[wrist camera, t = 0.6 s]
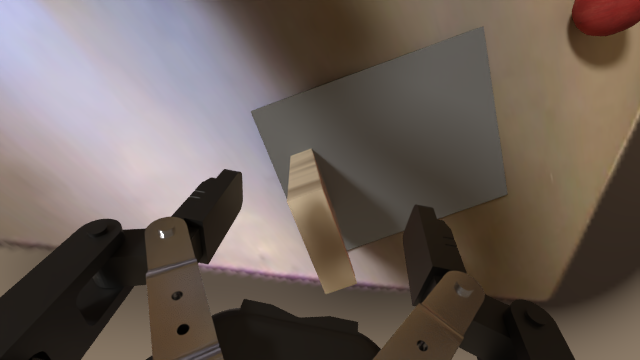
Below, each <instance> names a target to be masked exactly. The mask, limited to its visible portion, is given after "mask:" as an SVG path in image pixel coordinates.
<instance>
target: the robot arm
mask: <svg viewBox="0 0 640 360" xmlns="http://www.w3.org/2000/svg"><path fill="white" fill-rule="evenodd" d="M242 202H243V189H242V173H241V172H238V171H232V170H227V169H224V170H223V171H222V172H221V173H220V174H219V176H218V177H217V178H209V179H208V180H206V181H204V182H202V183H201V184H200V185H199V186H198V187H197V188H196V189H195V191H194V192H193V193H192V194H191V195H190V197H188V198H187V200H186V201H185V202H184V203H183V204H182V205H181V206H180V207H179V208H178V210H177V211H176V212H175V213H174V214H173V215H172V216H171V217H164V218H161V219H158V220H156V221H154V222H152V223H151V224H150V225H149V226H148V227H147V228H146V229H130V230H123V229H122V226H121V224H120V222H118V221H117V220H114V219H100V220H95V221H92V222H90V223H87V224H85V225H84V226H82V227H81V228H79V229H78V230H77V231H76V232H75V233H73V234H72V235H71V236H70V237H69V238H68V239H67V240H65V241H64V242H63V243H62V244H61V245H60V246H59V247H57V248H56V249H55V250H54V251H53V252H52V253H51V254H49V255H48V256H47V257H46V258H45V259H44V260H43V261H42V262H40V263H39V264H38V265H37V266H36V267H35V268H33V269H32V270H31V271H30V272H29V273H28V274H27V275H25V277H23V278H22V279H21V280H20V281H19V282H17V283H16V284H15V285H14V286H13V287H12V288H11V289H9V290H8V291H7V292H6V293H5V294H4V295H3V296H2V297H0V360H81V359H82V357H83V356H84V354H85V353H86V351H87V350H88V349H89V348H90V346H91V345H92V344H93V342H94V341H95V339H96V338H97V337H98V335H99V334H100V333H101V331H102V330H103V328H104V327H105V326H106V324H107V323H108V322H109V320H110V318H111V317H112V316H113V314H114V313H115V312H116V310H117V309H118V308H119V306H120V305H121V304H122V302H123V301H124V300H125V298H126V297H127V295H128V294H129V293H130V291H131V290H132V289H133V287H134V286H137V285H147V296H148V308H149V320H150V332H151V343H152V356H151V357H149V358H148V359H146V360H452V358H453V356H454V354H455V353H456V350H457V349H458V347H460V348H462V349H464V350H465V351H467V352H469V353H471V354H473V355H475V356H477V359H478V360H575V358H574V356H573V355H572V353H571V351H570V349H569V347H568V345H567V343H566V341H565V339H564V337H563V336H562V334H561V332H560V330H559V328H558V326H557V324H556V322H555V321H554V319H553V318H552V317H551V316H550V315H549V314H548V313H547V312H546V311H545V310H544V309H542V308H541V307H540V306H538V305H536V304H534V303H532V302H530V301H527V300H515V301H513V302H512V304H511V305H510V306H509V305H507V304H504V303H502V302H500V301H498V300H496V299H493V298H491V297H489V296H487V295H486V294H485V293H484V290H483V288H482V287H481V285H480V284H479V283H478V282H477V281H476V280H475V279H474V278H473V277H471V276H470V275H468V274H467V272H466V270H465V267H464V264H463V262H462V259H461V256H460V253H459V251H458V248H457V245H456V242H455V240H454V237H453V234H452V231H451V229H450V228H449V227H448V226H447V225H446V223H445V222H444V221H443V220H437V217H436V214H435V211H434V208H433V207H428V206H422V205H417V204H416V205H414V207H413V209H412V212H411V214H410V217H409V220H408V222H407V225H406V227H405V230H404V235H403V246H404V252H405V259H406V266H407V272H408V279H409V286H410V292H411V299H412V305H413V306H416V307H415V309H414V310H413V311H412V312H411V314H410V315H409V316H408V317H407V318H406V319H405V321H404V322H403V323H402V324H401V326H400V327H399V328H398V329H397V330H396V332H395V333H394V334H393V335H392V337H391V338H390V339H389V340H388V341H387V343H386V344H385V345H384V347H383V348H382V349H380V348H379V347H378V346H377V345H376V344H375V343H374V342H373V341H372V340H370V339H369V338H368V337H366V336H365V335H363V334H361V333H359V332H358V322H355V321H350V320H345V319H340V318H335V317H331V316H327V317H308V318H307V317H305V318H299V317H296V316H294V315H292V314H290V313H288V312H286V311H284V310H282V309H280V308H278V307H276V306H274V305H271V304H266V303H261V302H256V301H252V300H247V299H244V300H243V303H242V305H241V308H235V309H229V310H225V311H222V312H219V313H217V314H214V315H212V316H211V312H210V308H209V305H208V301H207V297H206V293H205V289H204V285H203V282H202V278H201V274H200V270H199V266H198V263H204V264H209V262H210V261H211V259H212V257H213V256H214V254H215V252H216V250H217V249H218V247H219V245H220V244H221V242H222V240H223V239H224V237H225V235H226V234H227V232H228V230H229V229H230V227H231V225H232V224H233V222H234V220H235V219H236V217H237V215H238V213H239V212H240V210H241V207H242Z"/></svg>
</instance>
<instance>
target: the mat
mask: <svg viewBox="0 0 640 360" xmlns="http://www.w3.org/2000/svg"><path fill="white" fill-rule="evenodd" d="M251 113H252V116H253V118H254V121H255V123H256V125H257V128H258V130H259V133H260V135H261V137H262V140H263V142H264V145H265V147H266V149H267V152H268V154H269V157H270V159H271V162H272V164H273V166H274V169H275V171H276V174H277V176H278V178H279V181H280V183H281V186H282V188H283V190H284V193H285V195H286V198H287V196H288V183H289V170H290V158H291V156H292V155H295V154H297V153H300V152H303V151H306V150H309V149H312V151H313V153H314V156H315V159H316V161H317V164H318V167H319V170H320V172H321V175H322V178H323V181H324V183H325V186H326V189H327V192H328V194H329V197H330V200H331V203H332V205H333V208H334V211H335V215H336V218H337V221H338V224H339V227H340V230H341V233H342V236H343V239H344V243H345V246H346V249H347V250H350V249H353V248H356V247H359V246H361V245H364V244H367V243H370V242H373V241H376V240H379V239H381V238H384V237H387V236H390V235H393V234H396V233H399V232H401V231H404V230H405V227H406V225H407V222H408V220H409V217H410V214H411V212H412V209H413V207H414V205H416V204H417V205H422V206H428V207H433V208H434V211H435V214H436V217H437V219H439V218H442V217H444V216H447V215H450V214H453V213H456V212H459V211H462V210H464V209H467V208H470V207H473V206H476V205H479V204H482V203H484V202H487V201H490V200H493V199H496V198H499V197H502V196H504V195H507V187H506V180H505V173H504V166H503V159H502V152H501V145H500V138H499V131H498V124H497V117H496V111H495V104H494V97H493V90H492V83H491V76H490V69H489V62H488V55H487V48H486V41H485V34H484V27H480V28H477V29H474V30H472V31H469V32H466V33H463V34H461V35H458V36H455V37H452V38H450V39H447V40H444V41H442V42H439V43H436V44H433V45H431V46H428V47H425V48H422V49H420V50H417V51H414V52H411V53H409V54H406V55H403V56H401V57H398V58H395V59H392V60H390V61H387V62H384V63H381V64H379V65H376V66H373V67H370V68H368V69H365V70H362V71H360V72H357V73H354V74H351V75H349V76H346V77H343V78H340V79H338V80H335V81H332V82H329V83H327V84H324V85H321V86H319V87H316V88H313V89H310V90H308V91H305V92H302V93H299V94H297V95H294V96H291V97H288V98H286V99H283V100H280V101H278V102H275V103H272V104H269V105H267V106H264V107H261V108H258V109H256V110H253V111H251Z"/></svg>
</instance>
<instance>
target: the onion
mask: <svg viewBox="0 0 640 360" xmlns="http://www.w3.org/2000/svg"><path fill="white" fill-rule="evenodd" d="M572 18H573V21H574V23H575V25H576V27H577V28H578V29H579V30H580V31H581V32H583V33H584V34H586V35H591V36H608V35H612V34H615V33H618V32H620V31H623V30H626V29H628V28H630V27H632V26H634V25H635V24H636V23H638V22H639V21H640V0H575V2H574V5H573V8H572Z"/></svg>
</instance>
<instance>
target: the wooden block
mask: <svg viewBox="0 0 640 360" xmlns="http://www.w3.org/2000/svg"><path fill="white" fill-rule="evenodd" d="M287 203H288V205H289V208H290V210H291V212H292V215H293V217H294V220H295V222H296V224H297V227H298V229H299V232H300V234H301V236H302V239H303V241H304V244H305V246H306V248H307V251H308V253H309V256H310V258H311V260H312V263H313V265H314V268H315V270H316V272H317V275H318V277H319V280H320V282H321V284H322V287H323V289H324V292H325V294H328V293H331V292H334V291H337V290H340V289H343V288H345V287H348V286H351V285H354V284H357V282H356V278H355V274H354V271H353V268H352V264H351V261H350V258H349V255H348V252H347V249H346V246H345V243H344V239H343V236H342V233H341V230H340V227H339V224H338V221H337V218H336V215H335V211H334V208H333V205H332V203H331V200H330V197H329V194H328V192H327V189H326V186H325V183H324V181H323V178H322V175H321V172H320V170H319V167H318V164H317V161H316V159H315V156H314V153H313V151H312V149H309V150H306V151H303V152H300V153H297V154H295V155H292V156H291V158H290V170H289V183H288V196H287Z"/></svg>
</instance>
